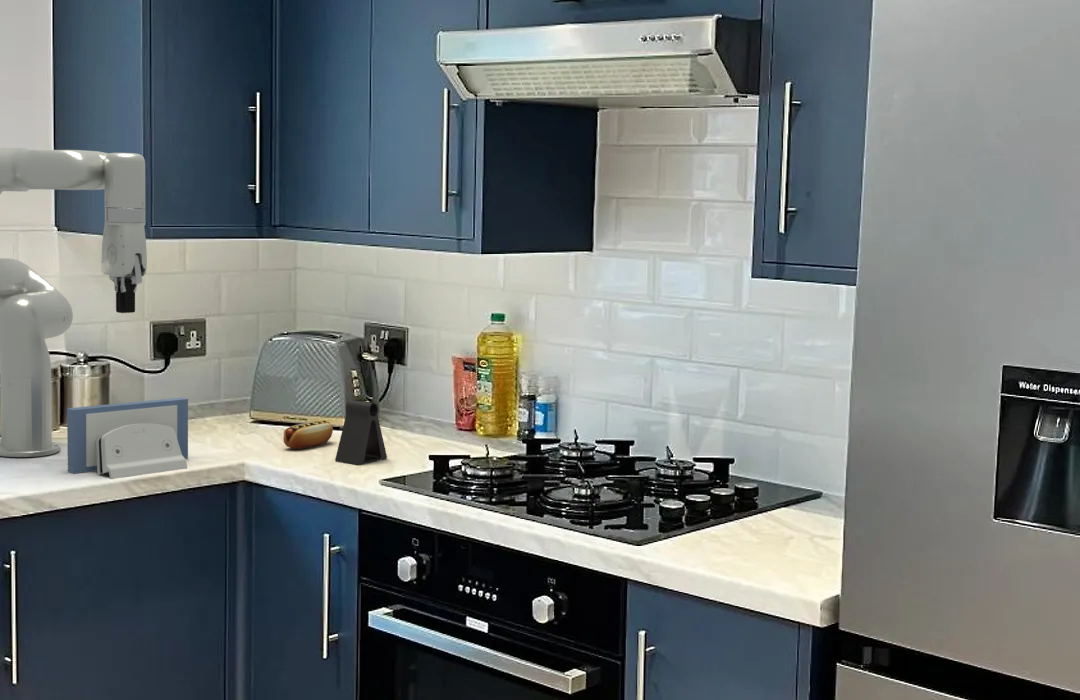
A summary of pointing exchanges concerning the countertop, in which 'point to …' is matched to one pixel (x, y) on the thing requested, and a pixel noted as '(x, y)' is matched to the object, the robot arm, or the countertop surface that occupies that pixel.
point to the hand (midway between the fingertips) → (125, 312)
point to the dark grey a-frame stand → (361, 435)
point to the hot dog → (308, 434)
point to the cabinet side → (104, 418)
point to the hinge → (138, 451)
